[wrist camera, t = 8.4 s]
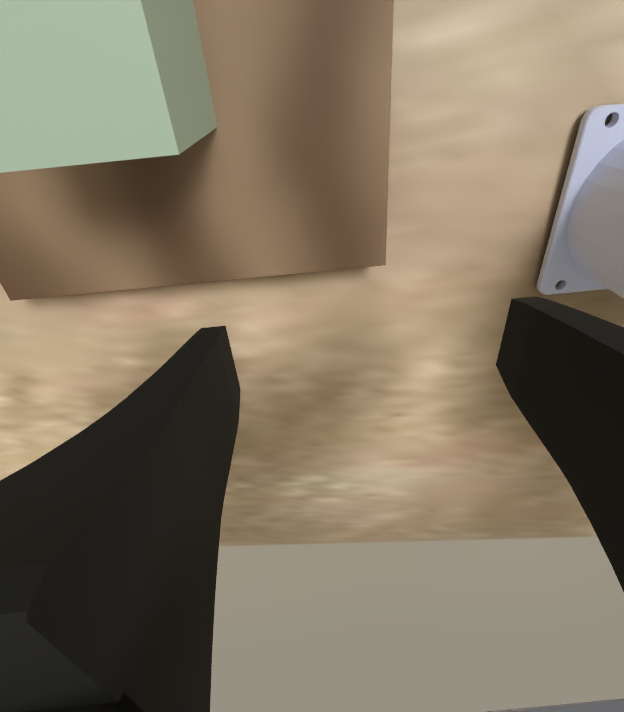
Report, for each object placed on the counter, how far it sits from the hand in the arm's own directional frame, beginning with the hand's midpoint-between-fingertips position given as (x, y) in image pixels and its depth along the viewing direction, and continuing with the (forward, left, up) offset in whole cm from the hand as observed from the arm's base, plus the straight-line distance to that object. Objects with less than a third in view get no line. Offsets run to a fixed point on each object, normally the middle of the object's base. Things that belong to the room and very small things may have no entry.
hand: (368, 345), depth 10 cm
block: (+6, -7, -7) cm, 12 cm away
